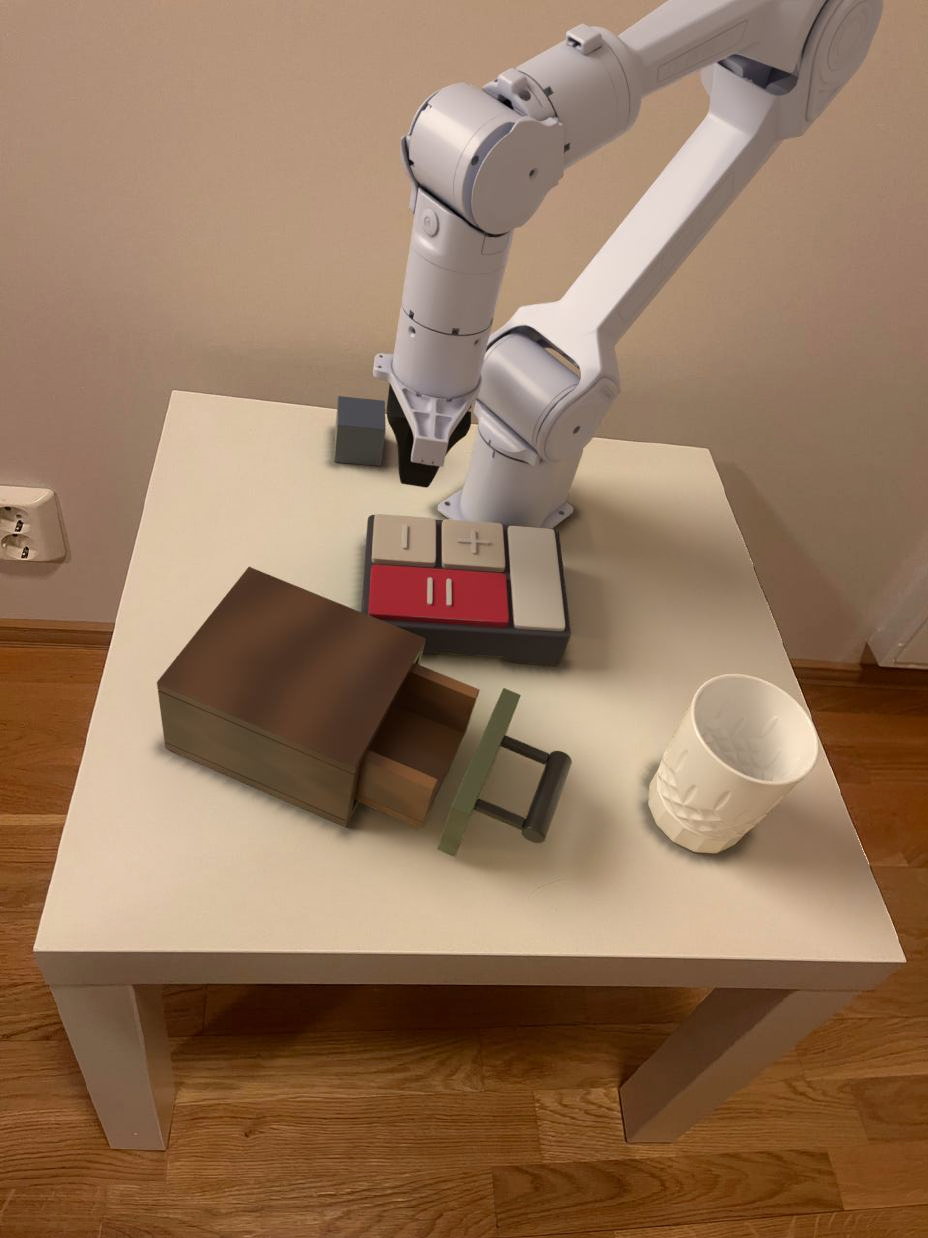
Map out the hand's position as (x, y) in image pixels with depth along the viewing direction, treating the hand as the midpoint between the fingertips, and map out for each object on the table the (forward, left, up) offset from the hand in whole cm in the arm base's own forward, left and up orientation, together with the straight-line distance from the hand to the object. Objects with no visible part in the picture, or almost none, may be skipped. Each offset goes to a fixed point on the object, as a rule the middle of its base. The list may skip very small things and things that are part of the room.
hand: (414, 479), depth 66 cm
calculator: (0, +6, -9) cm, 10 cm away
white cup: (+2, +29, -9) cm, 30 cm away
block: (-7, -12, -8) cm, 16 cm away
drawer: (+13, +15, -8) cm, 21 cm away
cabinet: (+17, +6, -8) cm, 19 cm away
